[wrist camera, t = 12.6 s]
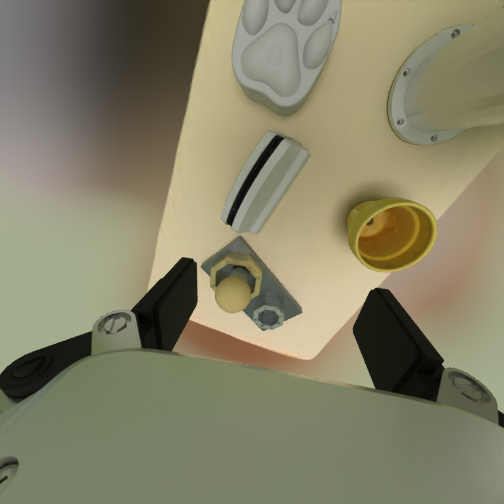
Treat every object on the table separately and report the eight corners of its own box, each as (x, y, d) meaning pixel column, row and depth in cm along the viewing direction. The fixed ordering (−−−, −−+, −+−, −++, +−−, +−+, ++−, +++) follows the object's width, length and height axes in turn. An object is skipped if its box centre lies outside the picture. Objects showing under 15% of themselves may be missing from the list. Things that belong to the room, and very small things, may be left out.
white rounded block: (257, 234, 40) (233, 244, 31) (239, 219, 41) (210, 226, 32) (312, 152, 33) (300, 136, 24) (288, 137, 33) (269, 116, 25)
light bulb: (237, 290, 45) (227, 325, 36) (218, 269, 43) (203, 300, 34) (260, 277, 42) (256, 311, 34) (242, 255, 41) (232, 284, 32)
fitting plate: (240, 235, 40) (236, 244, 36) (301, 308, 47) (303, 322, 43) (202, 263, 44) (195, 274, 40) (263, 326, 50) (262, 341, 46)
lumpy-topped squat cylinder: (233, 90, 30) (218, 68, 22) (275, -34, 24) (273, -120, 17) (294, 124, 31) (300, 115, 23) (348, 13, 25) (379, -48, 18)
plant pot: (413, 205, 34) (459, 224, 26) (372, 254, 39) (399, 283, 30) (360, 178, 33) (389, 187, 25) (324, 231, 38) (338, 255, 29)
